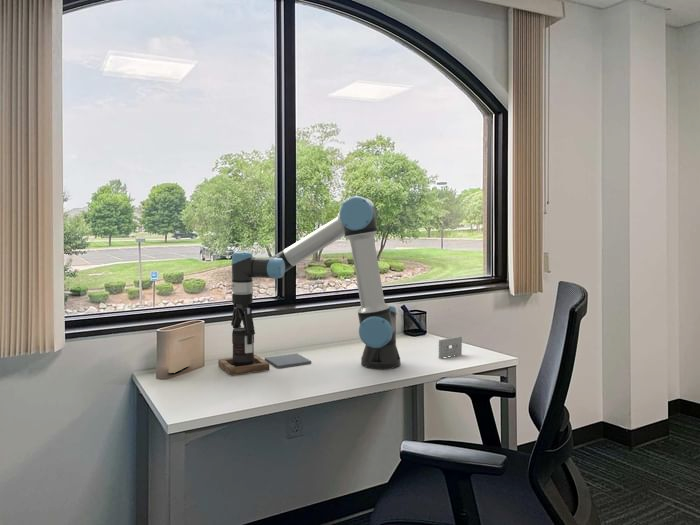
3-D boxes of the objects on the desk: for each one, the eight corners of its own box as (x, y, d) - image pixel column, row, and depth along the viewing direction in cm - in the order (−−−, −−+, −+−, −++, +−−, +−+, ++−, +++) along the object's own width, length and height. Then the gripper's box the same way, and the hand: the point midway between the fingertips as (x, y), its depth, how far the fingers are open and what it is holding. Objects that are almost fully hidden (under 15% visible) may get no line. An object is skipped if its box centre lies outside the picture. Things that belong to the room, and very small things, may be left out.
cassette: (440, 359, 224) (440, 340, 223) (437, 358, 225) (437, 339, 225) (462, 355, 230) (462, 336, 230) (459, 354, 232) (459, 336, 231)
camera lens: (257, 369, 210) (257, 329, 209) (237, 372, 206) (236, 332, 204) (250, 364, 217) (249, 325, 215) (229, 367, 213) (229, 328, 211)
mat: (311, 363, 217) (311, 361, 217) (277, 368, 210) (277, 365, 210) (296, 355, 229) (296, 353, 229) (264, 360, 223) (264, 357, 223)
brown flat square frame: (269, 370, 208) (269, 363, 208) (230, 375, 201) (230, 368, 201) (255, 360, 221) (255, 354, 221) (218, 365, 214) (218, 359, 214)
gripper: (222, 289, 218) (223, 343, 220) (243, 298, 196) (243, 357, 198) (241, 288, 221) (241, 341, 223) (263, 296, 200) (263, 355, 202)
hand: (242, 348), depth 211 cm, fingers open, 13 cm apart
